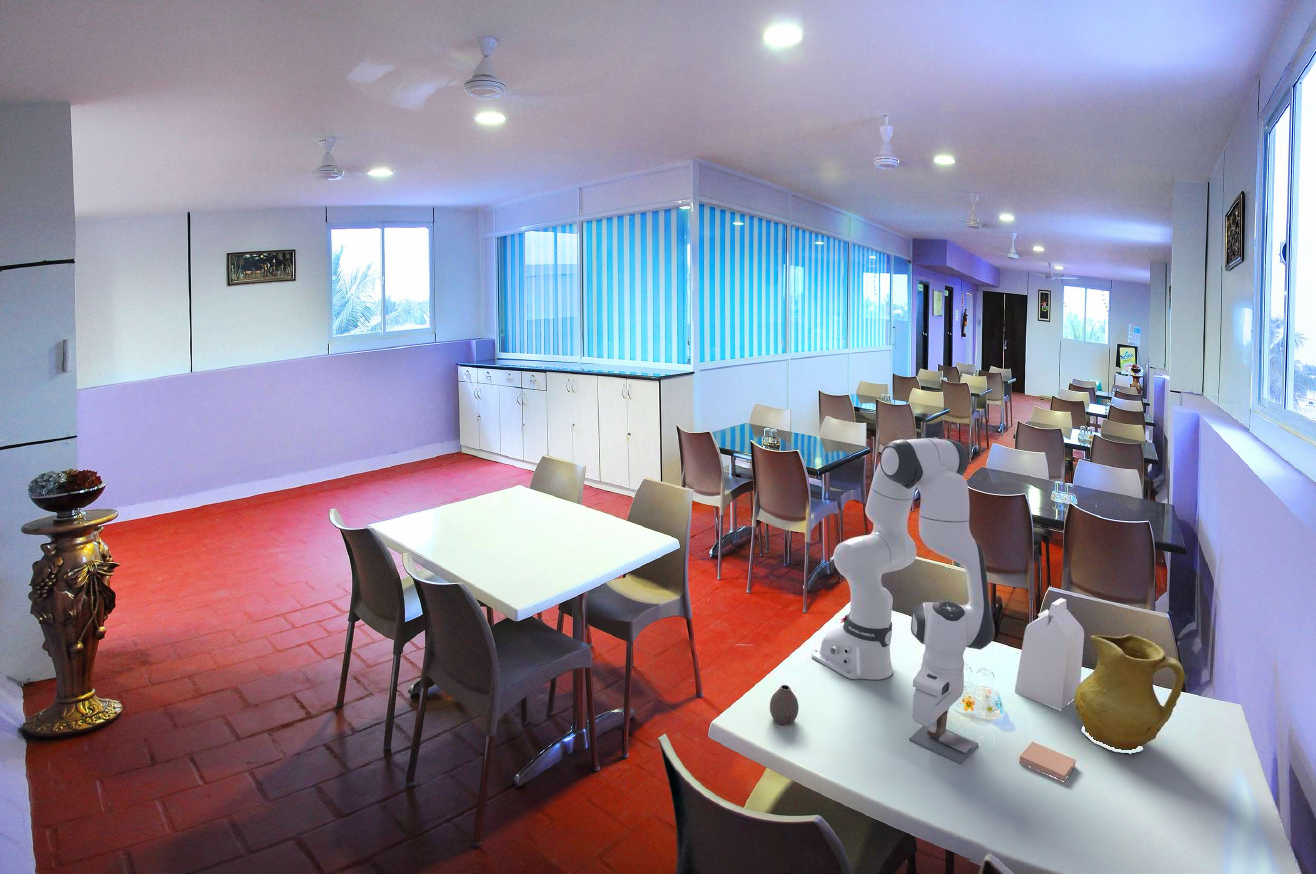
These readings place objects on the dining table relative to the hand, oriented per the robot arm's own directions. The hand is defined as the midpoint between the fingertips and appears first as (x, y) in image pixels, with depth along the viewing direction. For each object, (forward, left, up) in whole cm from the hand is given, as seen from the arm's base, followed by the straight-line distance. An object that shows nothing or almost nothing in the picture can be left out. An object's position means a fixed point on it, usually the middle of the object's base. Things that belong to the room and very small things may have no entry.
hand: (936, 726), depth 161 cm
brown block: (+3, 0, -2) cm, 4 cm away
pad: (+2, 0, -3) cm, 4 cm away
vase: (-29, -20, -3) cm, 35 cm away
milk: (+12, +42, -3) cm, 44 cm away
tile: (+17, +9, -2) cm, 19 cm away
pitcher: (+30, +31, -3) cm, 43 cm away
